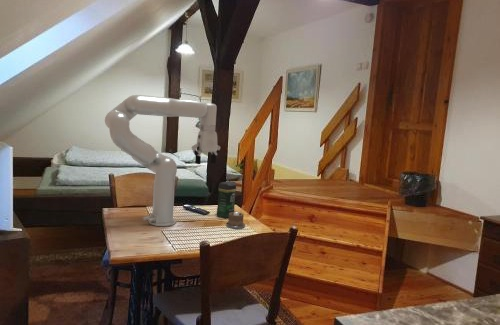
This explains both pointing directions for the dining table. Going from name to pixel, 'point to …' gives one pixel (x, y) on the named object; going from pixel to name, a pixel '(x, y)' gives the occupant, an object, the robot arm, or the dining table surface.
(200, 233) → the dining table surface
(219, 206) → the coffee jar
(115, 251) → the dining table surface
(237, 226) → the post
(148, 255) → the dining table surface
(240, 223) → the collar
